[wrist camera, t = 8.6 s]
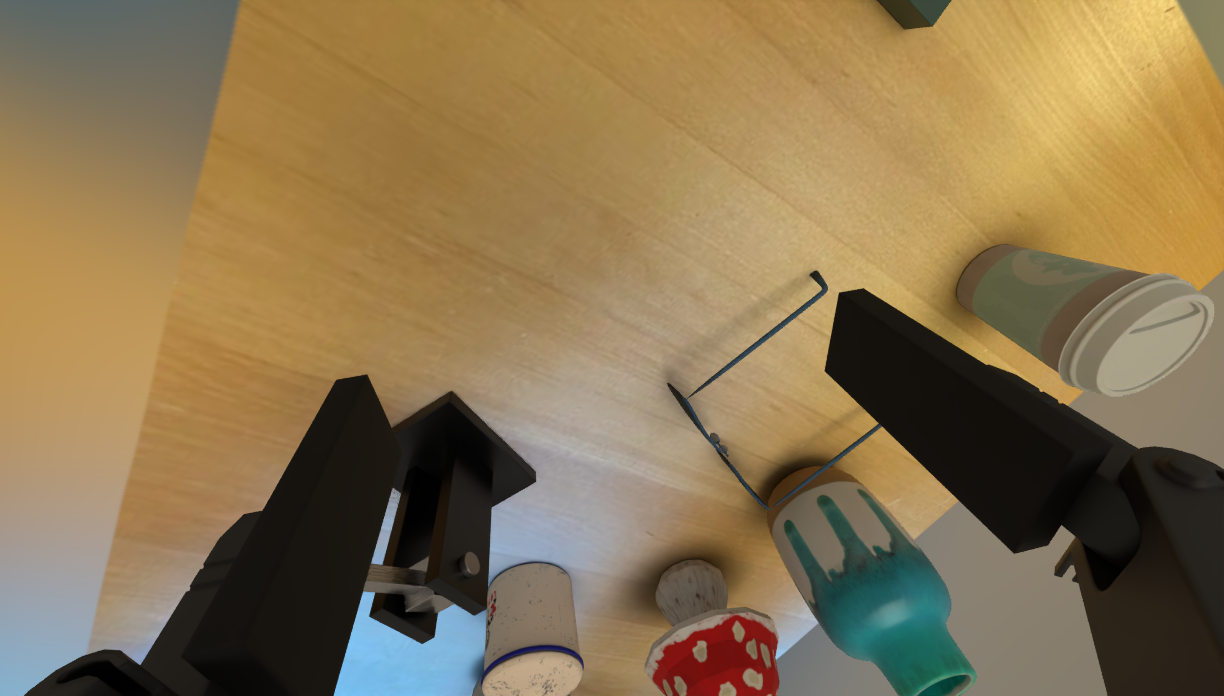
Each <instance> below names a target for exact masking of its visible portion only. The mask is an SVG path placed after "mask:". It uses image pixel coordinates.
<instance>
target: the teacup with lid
mask: <svg viewBox="0 0 1224 696" xmlns="http://www.w3.org/2000/svg"><path fill="white" fill-rule="evenodd" d="M583 669H584V664H583V660H582V658H581V657H580V653H579V645H578V636H577V628H576V619H575V611H574V603H573V594H572V586H571V581H570V578H569V576H568V575H567V574H566V573H565V572H564V571H563V570H562V569H560V568H558V567H556V566H553V565H550V564H544V563H530V564H524V565H520V566H516V567H514V568H511V569H509V570H507V571H505V572H503V573H502V574H500V575H499V576H498V577H497V578H496V579H495V580H494V581H493V582H492V584H491V585H490V587H489V590H488V599H487V618H486V640H485V663H484V673H483V675H482V678H481V687H482V691H483V693H484V695H485V696H567V695H568V694H569V693H571V692H572V691H573V690H574V689H575V688H576V687H577V685H578V684H579V682H580V680H581V678H582V674H583Z"/></svg>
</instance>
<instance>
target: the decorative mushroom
mask: <svg viewBox="0 0 1224 696" xmlns="http://www.w3.org/2000/svg"><path fill="white" fill-rule="evenodd" d="M655 598H656V602H657V604H658V606H659V608H660V609H661V611H662V613H663V614H664V616H665V618H666V619H667V620H668V621H669V622H670V624H671V625H672V626H673V628H671V629H670V630H669V631H668V632H667V633H665V634H664V635H663V636H662V637H660V638H659V639H658V640H657V641H655V642H654V643H653V644H652V647H651V650H650V652H649V655H648V658H647V660H646V663H645V673H646V674H647V675H648V677H649V678H650V679H651V681H652V682H653V683H654V685H655V686H656V687H657V688H658V689H659V690H660V691H661V692H663V693H664V694H665V695H666V696H777V693H778V687H779V676H778V671H777V665H776V659H775V656H776V650H777V644H778V638H779V637H778V634H777V631H776V628H775V625H774V622H773V620H772V619H771V618H770V617H769V616H768V615H766V614H764V613H761V612H758V611H755V610H753V609H750V608H747V607H739V608H728V609H727V598H728V593H727V586H726V584H725V581H724V579H723V576H722V574H721V572H720V570H719V569H718V568H716V567H715V566H713V565H711V564H710V563H707V562H705V561H703V560H700V559H697V560H685V561H683V562H680V563H678V564H675V565H673V566H671V567H670V568H669V569H668V570H667V571H665V572H664V573H663V574H662V576H661V579H660V582H659V585H658V588H657V591H656V594H655Z"/></svg>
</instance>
